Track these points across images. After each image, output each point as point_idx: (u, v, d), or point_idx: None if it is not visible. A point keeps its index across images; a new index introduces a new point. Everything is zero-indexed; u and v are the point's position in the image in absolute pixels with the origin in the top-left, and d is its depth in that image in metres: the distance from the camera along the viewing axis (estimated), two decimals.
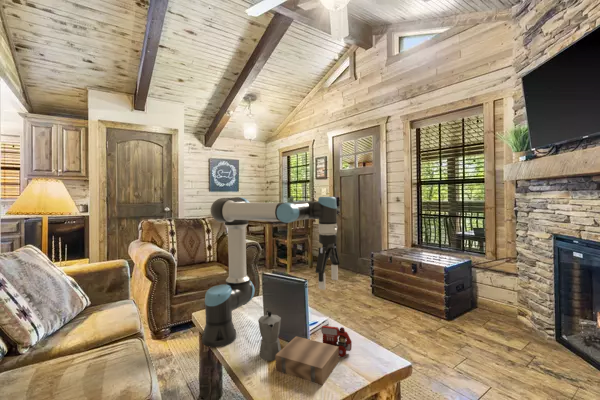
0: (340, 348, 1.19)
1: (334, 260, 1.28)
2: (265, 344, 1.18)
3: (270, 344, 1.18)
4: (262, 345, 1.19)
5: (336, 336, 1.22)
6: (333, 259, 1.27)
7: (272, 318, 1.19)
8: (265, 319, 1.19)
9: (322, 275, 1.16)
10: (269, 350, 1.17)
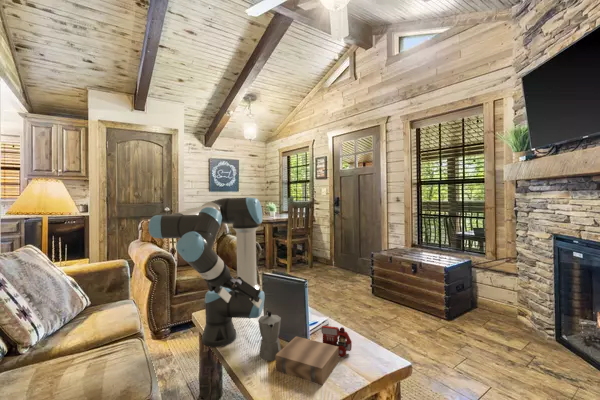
0: (340, 348, 1.19)
1: None
2: (265, 344, 1.18)
3: (270, 344, 1.18)
4: (262, 345, 1.19)
5: (336, 336, 1.22)
6: None
7: (272, 318, 1.19)
8: (265, 319, 1.19)
9: (218, 292, 1.05)
10: (269, 350, 1.17)
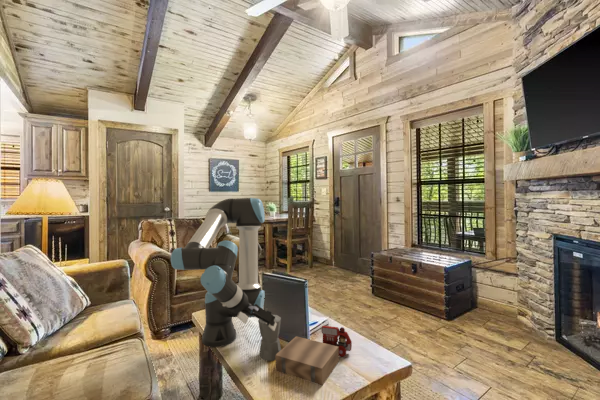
0: (340, 348, 1.19)
1: None
2: (265, 344, 1.18)
3: (270, 344, 1.18)
4: (262, 345, 1.19)
5: (336, 336, 1.22)
6: None
7: None
8: None
9: (236, 315, 1.15)
10: (269, 350, 1.17)
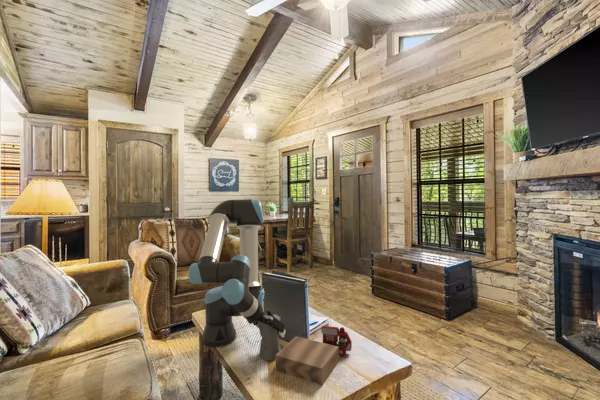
0: (340, 348, 1.19)
1: None
2: (264, 343, 1.18)
3: (270, 343, 1.18)
4: (262, 345, 1.19)
5: (336, 336, 1.22)
6: None
7: None
8: None
9: None
10: (269, 350, 1.17)
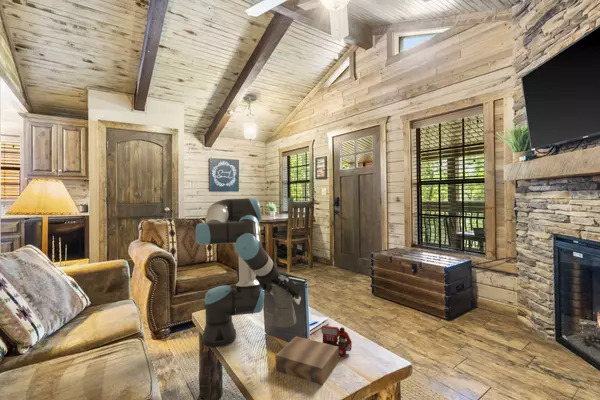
0: (340, 348, 1.19)
1: None
2: (279, 309, 1.11)
3: (284, 309, 1.11)
4: (276, 311, 1.12)
5: (336, 336, 1.22)
6: None
7: None
8: None
9: (270, 291, 1.17)
10: (283, 316, 1.10)
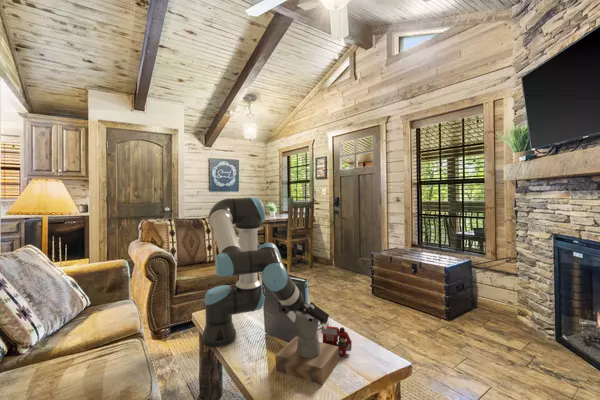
0: (340, 348, 1.19)
1: None
2: (303, 340, 1.09)
3: (309, 340, 1.08)
4: (300, 341, 1.10)
5: (336, 336, 1.22)
6: None
7: None
8: None
9: (286, 313, 1.14)
10: (308, 346, 1.08)
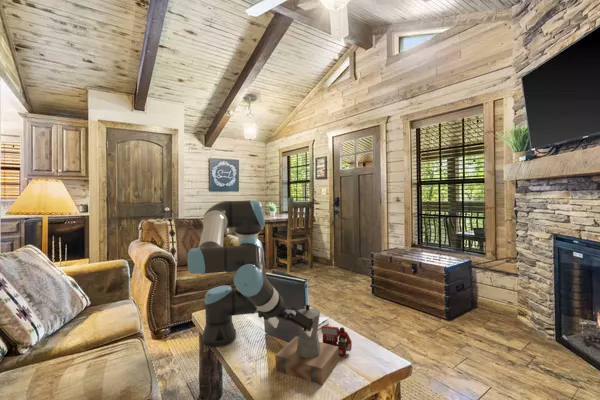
0: (340, 348, 1.19)
1: None
2: (303, 340, 1.09)
3: (309, 340, 1.08)
4: (300, 341, 1.10)
5: (336, 336, 1.22)
6: None
7: (311, 312, 1.10)
8: (303, 313, 1.10)
9: None
10: (308, 346, 1.08)
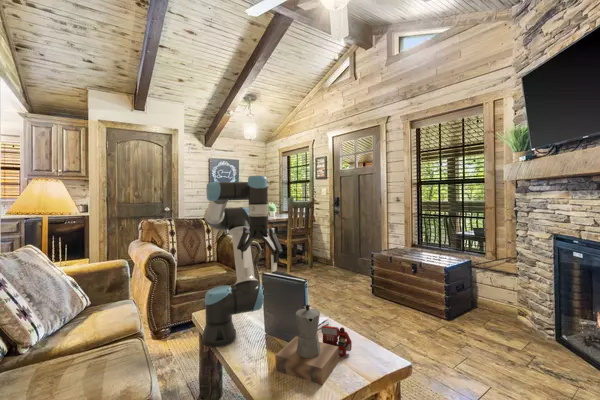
0: (340, 348, 1.19)
1: None
2: (303, 340, 1.09)
3: (309, 340, 1.08)
4: (300, 341, 1.10)
5: (336, 336, 1.22)
6: None
7: (311, 312, 1.10)
8: (303, 313, 1.10)
9: (242, 253, 1.19)
10: (308, 346, 1.08)
